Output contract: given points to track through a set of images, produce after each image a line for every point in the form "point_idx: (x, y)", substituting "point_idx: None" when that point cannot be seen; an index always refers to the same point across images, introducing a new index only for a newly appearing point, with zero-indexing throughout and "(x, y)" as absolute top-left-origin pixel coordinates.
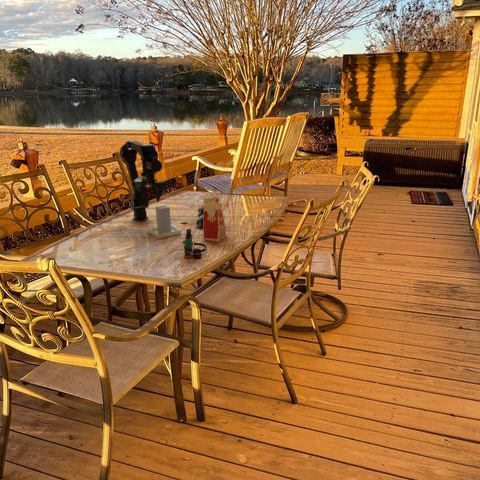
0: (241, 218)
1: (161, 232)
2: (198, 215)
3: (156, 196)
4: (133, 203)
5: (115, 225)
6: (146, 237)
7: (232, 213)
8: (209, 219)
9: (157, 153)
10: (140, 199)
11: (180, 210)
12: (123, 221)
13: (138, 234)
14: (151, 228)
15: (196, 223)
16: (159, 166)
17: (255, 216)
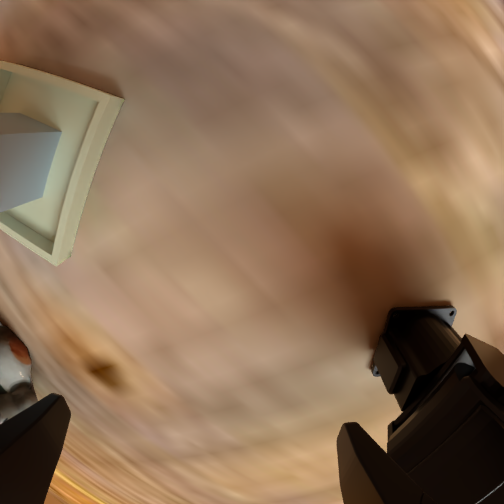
0: None
1: (11, 113)
2: (24, 400)
3: (3, 436)
4: (492, 367)
5: (479, 156)
6: (74, 30)
7: (96, 485)
8: None
9: None
10: (448, 437)
11: (297, 491)
12: (483, 256)
13: (161, 33)
14: (93, 117)
15: (6, 341)
16: None
17: None
